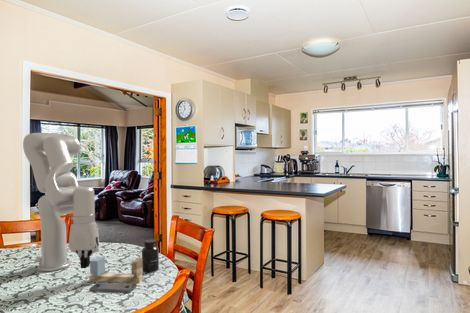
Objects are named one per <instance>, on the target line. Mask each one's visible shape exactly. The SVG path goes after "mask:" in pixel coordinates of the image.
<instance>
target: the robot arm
mask: <svg viewBox="0 0 470 313" xmlns="http://www.w3.org/2000/svg"><path fill="white" fill-rule="evenodd" d="M22 147H23V148H22V149H23V152H24V154H25V157H26V159H27V161H28V163H29V164H30V166H31V168H32V173H33V177H34V181H35V184H36V187H37V190H38V191H39V192H40V193H43V194H44V195H42V196H40V198H39V199H38V202H37V208H38V213H39V218H40V239H41V240H40V244H41V246H40V248H41V250H40V252H41V253H40V254H41V255H39V256H38V255H37V256H36V257H35V258H34V262H35V263H38V265H37V267H36V270H37V271H40V272H54V271H59V270H63V269H66V268H68V267H69V266H71V264H72V261H71V260H70V259H68V255H67V254H68V253H67V251H68V248H69V250H70V251H71V252H72V253H75V254H76V255H77V256H78V258H79V264H80V269H86V268H88V267H90V261H91V256H92V255H93V254H94V253H97V252H99V250H100V249H99V246H100V234H99V229H98V224H97V222H96V213H95V212H96V210H95V206H96V205H95V189H94V188H93V187H90V186H89V187H88V186H87V187H86V186H83V185H79V183H78V180H77V177H76V175H75V174H74V173H73V172H72V171H71V170H72V169H73V168H74V165H75V164H74V162H73V159H72V156H76V155H78V154H79V153H80V151H81V143H80V141H79V140H78V138H77V137H75V136H74V135H73V136H72V135H69V134H65V133H55V132H54V133H53V132H52V133H51V132H50V133H49V132H32V133H29V134H27V135H25V136H24V138H23V142H22ZM66 214H72V216H71V217H70V220H71V221H72V222H73V223H71V224H70V227H69V228H70V229H69V235H68V237H69V238H68V241H67V224H66V223H67V222H65V220H64V219H63V218H62V217H61V216H62V215H66ZM67 242H68V248H67Z"/></svg>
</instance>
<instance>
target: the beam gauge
mask: <svg viewBox="0 0 470 313" xmlns="http://www.w3.org/2000/svg"><path fill="white" fill-rule="evenodd" d="M130 264H131V273H114V272H113V273H112V272H111V273H108V272H107V273H106V272H104V273H102V274H101V275H99V276H98V277H96V276H90V277H89V278H88V279H89V282H102V283H128V284H140V283H141V282H143V280H144V275H143V265H142V257H137V258H135V259H134V260H132V261H131V263H130Z"/></svg>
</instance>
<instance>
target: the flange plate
mask: <svg viewBox="0 0 470 313" xmlns="http://www.w3.org/2000/svg"><path fill="white" fill-rule="evenodd" d="M136 288H137V283H123V282H96V283H94V285H92V286H91V287H90V288H89V292H101V293H102V292H104V293H105V292H106V293H124V294H125V293H127V294H128V293H129V294H130V293H131V292H133V291H135V289H136Z"/></svg>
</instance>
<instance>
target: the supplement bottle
mask: <svg viewBox="0 0 470 313" xmlns="http://www.w3.org/2000/svg"><path fill="white" fill-rule="evenodd" d="M143 245H144V246H143V248H142V249H141V258H142V265H143V272H144V273H154V272H157V271H158V270H159V268H160V266H159V265H160V264H159V262H160V261H159V260H160V257H159V256H160V254H159V253H160V252H159V251H160V250H159V247H158V246H157V240H156V239H146V240H145V241H144V242H143Z"/></svg>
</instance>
